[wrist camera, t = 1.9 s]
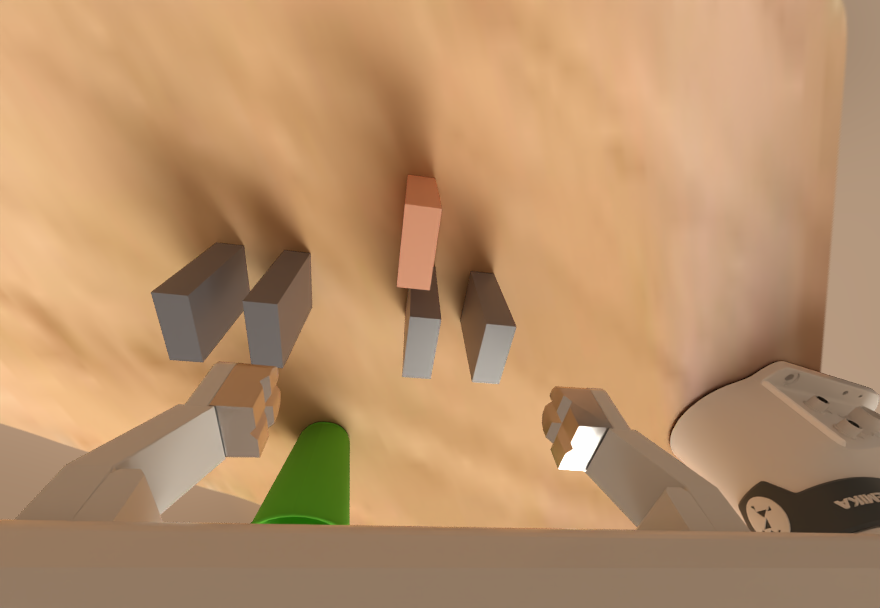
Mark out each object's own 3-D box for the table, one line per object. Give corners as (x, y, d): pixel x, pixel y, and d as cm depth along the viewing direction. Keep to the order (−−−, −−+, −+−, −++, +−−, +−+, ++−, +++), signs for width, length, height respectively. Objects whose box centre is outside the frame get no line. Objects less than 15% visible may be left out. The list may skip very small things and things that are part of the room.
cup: (288, 463, 41) (249, 574, 32) (277, 406, 37) (228, 516, 27) (368, 464, 42) (354, 572, 33) (367, 408, 38) (350, 515, 28)
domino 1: (243, 245, 28) (187, 295, 21) (251, 301, 31) (203, 362, 24) (216, 242, 28) (150, 292, 21) (225, 298, 30) (170, 359, 23)
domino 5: (493, 273, 31) (516, 326, 24) (481, 323, 33) (499, 384, 26) (470, 271, 30) (486, 323, 23) (460, 320, 33) (472, 382, 26)
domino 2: (310, 253, 29) (277, 304, 22) (312, 307, 31) (283, 368, 24) (284, 250, 28) (242, 300, 22) (288, 304, 31) (251, 365, 24)
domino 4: (435, 267, 30) (441, 319, 23) (427, 317, 32) (430, 378, 26) (411, 264, 30) (409, 316, 23) (405, 315, 32) (402, 376, 25)
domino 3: (435, 178, 26) (442, 208, 19) (426, 242, 29) (429, 290, 22) (407, 174, 26) (404, 203, 19) (401, 239, 29) (396, 286, 22)
